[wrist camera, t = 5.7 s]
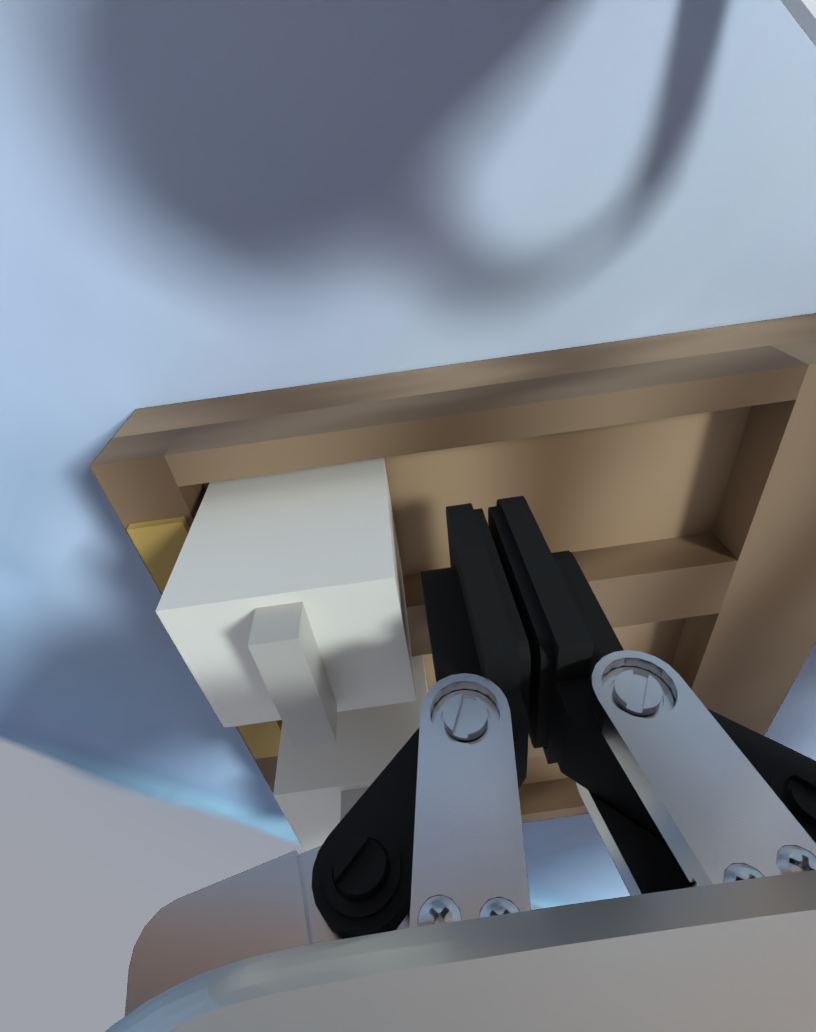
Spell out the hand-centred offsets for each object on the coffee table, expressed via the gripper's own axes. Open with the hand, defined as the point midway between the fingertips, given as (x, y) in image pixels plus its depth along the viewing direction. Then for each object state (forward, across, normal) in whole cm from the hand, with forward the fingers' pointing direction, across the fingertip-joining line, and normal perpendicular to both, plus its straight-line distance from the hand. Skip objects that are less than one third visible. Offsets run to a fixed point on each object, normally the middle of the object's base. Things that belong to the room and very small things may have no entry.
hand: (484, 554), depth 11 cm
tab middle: (+2, +4, +7) cm, 8 cm away
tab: (+2, +4, 0) cm, 4 cm away
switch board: (+4, -1, +6) cm, 8 cm away
